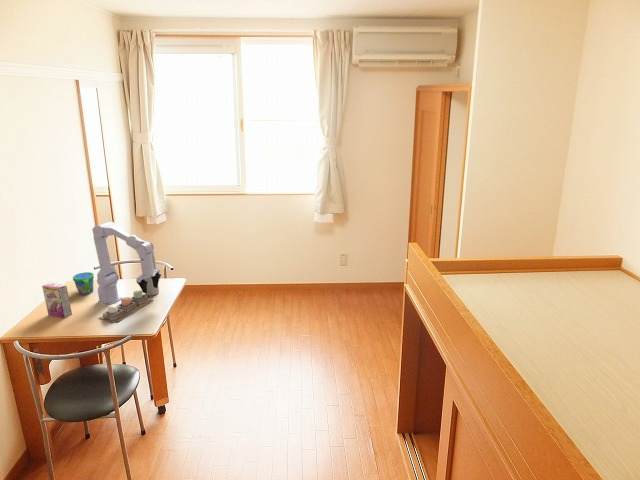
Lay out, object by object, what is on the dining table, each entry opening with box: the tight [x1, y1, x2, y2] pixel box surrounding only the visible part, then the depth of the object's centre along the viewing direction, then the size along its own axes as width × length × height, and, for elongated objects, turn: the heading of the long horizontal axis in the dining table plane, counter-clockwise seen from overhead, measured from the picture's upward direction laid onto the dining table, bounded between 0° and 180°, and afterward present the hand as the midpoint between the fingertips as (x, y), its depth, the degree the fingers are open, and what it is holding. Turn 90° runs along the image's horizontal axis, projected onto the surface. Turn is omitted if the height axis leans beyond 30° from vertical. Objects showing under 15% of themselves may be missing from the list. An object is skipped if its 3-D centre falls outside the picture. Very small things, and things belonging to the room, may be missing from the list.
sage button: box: [133, 290, 144, 300], centre depth 240 cm, size 4×4×4 cm
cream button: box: [107, 303, 118, 315], centre depth 224 cm, size 4×4×4 cm
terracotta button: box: [120, 296, 131, 307], centre depth 232 cm, size 4×4×4 cm
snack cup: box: [72, 271, 95, 295], centre depth 253 cm, size 16×10×10 cm
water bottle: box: [139, 250, 160, 296], centre depth 249 cm, size 9×8×25 cm
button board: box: [98, 294, 154, 324], centre depth 233 cm, size 12×26×3 cm, turn 160°
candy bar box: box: [42, 282, 73, 319], centre depth 226 cm, size 11×5×16 cm, turn 71°
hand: (150, 290), depth 232 cm, fingers open, 7 cm apart
